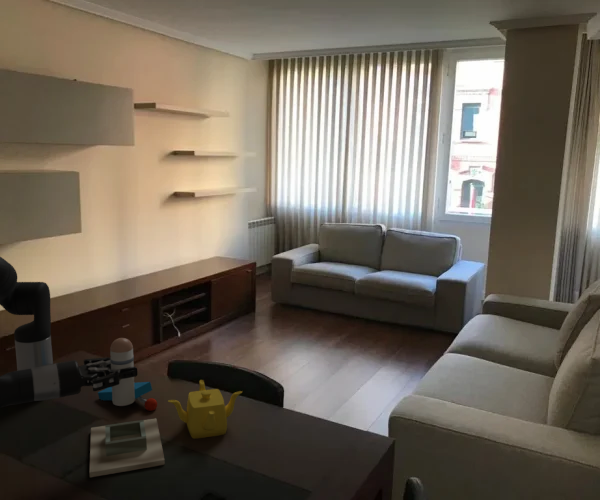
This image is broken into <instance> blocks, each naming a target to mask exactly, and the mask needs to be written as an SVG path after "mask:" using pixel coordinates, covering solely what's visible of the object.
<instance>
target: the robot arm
mask: <svg viewBox="0 0 600 500" xmlns="http://www.w3.org/2000/svg"><path fill="white" fill-rule="evenodd" d="M0 306H1V307H2V308H3V309H4V310H5V311H6V312H8V313H9V314H11V315H14V316H33V321H30V322H27V323H24V324H22V325H19V326H18V327H16V328H15V329H14V333H13V335H14V346H15V347H14V348H15V357H16V369H17V370H14V371H13V370H12V371H10V372H7V373H4V374H3V375H0V409H1V408H4V407H7V406H13V405H21V404H25V403H26V404H27V403H30V402H37V401H39V402H40V401H48V400H53V399H59V398H65V397H69V396H74V395H79V394H80V393H81V390H82V389H81V388H82V387H92V392H100V391H102V390H104V389H106V388H109V387H112V386H116V385H119V381H121V379H125V378H130V377H134V378H135V377H137V376H138V368H137V367H136V366H134V367H129V368H124V369H120V370H119V369H115V370H111V362H110V356H109V357H97V358H86V359H83V365H79V363H78V361H77V360H75V359H74V360H69V361H61V362H55V363H54V361H53V360H54V359H53V348H52V347H53V346H52V334H51V332H52V331H51V328H52V327H51V326H52V321H51V320H52V319H51V318H52V317H51V291H50V287H49V285H48V283H46V282H44V281H18V273H17V271H16V269H15V267H14V266H13V265H12V264H11V263H9V262H8V261H7V260H6V259H5V258H3V257H1V256H0Z"/></svg>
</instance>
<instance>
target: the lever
mask: <svg viewBox="0 0 600 500" xmlns="http://www.w3.org/2000/svg"><path fill="white" fill-rule="evenodd" d="M134 391H135V401H136V400H137V401H138V402H141V403H142V404H143V405H144V408H145V410H147V411H148V412H153V411H155V410H156V409H157V407H158V401H157V400H156V399H155V398H152V397H150V398H148V399H146V398H144V397H142V396H144V395H146V394H147V393H149V392H151V391H153V387H152V383H151V381H143V382H142V381H140V382H134ZM97 394H98V400H99V399H101V400H100V401H102V400H103V401H112V387H109V388H105V389H102V390H99V391H97Z"/></svg>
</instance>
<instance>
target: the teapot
mask: <svg viewBox="0 0 600 500" xmlns="http://www.w3.org/2000/svg"><path fill="white" fill-rule="evenodd" d="M198 382H199V383H198V384H199V389H198V390H195V391H190V392H189V393H188V397H187V402H186V403H187V404H186V410H184V409H183V406H182V405H181V402H180V401H179V400H176V399H169V400H167V403H170V404H172V405H174V407H175V409H176V411H177V415H178V418H179V419H180V420H181V421H182V422H183V423H185V424H186V426H187V430H188V432H189V435H190V437H191V438H192V439H194V440H195V439H205V438H210V437H211V438H212V437H217V436H222V435H225V434H226V433H227V431H228V417H230V416H231V415H232V413H233V411H234V408H235V403H236V400H237V397H238V396H239V395H241V394H242V393H243V390H242V391H241V390H239V391H236V392H233V393H232V395H231V396H230V398H229V399H230V400H229V401H228V403H227V404H225V399H224V397H223V394H222V392H221V391H220V389H219V388H213V389H206V384H205V380H204V379H200V380H199V381H198Z"/></svg>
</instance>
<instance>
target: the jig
mask: <svg viewBox="0 0 600 500" xmlns="http://www.w3.org/2000/svg"><path fill="white" fill-rule="evenodd" d="M161 440H162V439H161V434H160V430H159V423H158V419H157V418H156V417H155V418H148V419H141V420H140V419H139V420H134V421H133V420H132V421H126V422H121V423H113V424H106V425H101V426H93V427H90V444H89V445H90V447H89V451H90V453H89V478H95V477H101V476H107V475H112V474H119V473H123V472H124V473H125V472H130V471H135V470H140V469H146V468H153V467H158V466H164V465H165V464H166V463H165V455H164V450H163V446H162V445H163V443H162V441H161Z"/></svg>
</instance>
